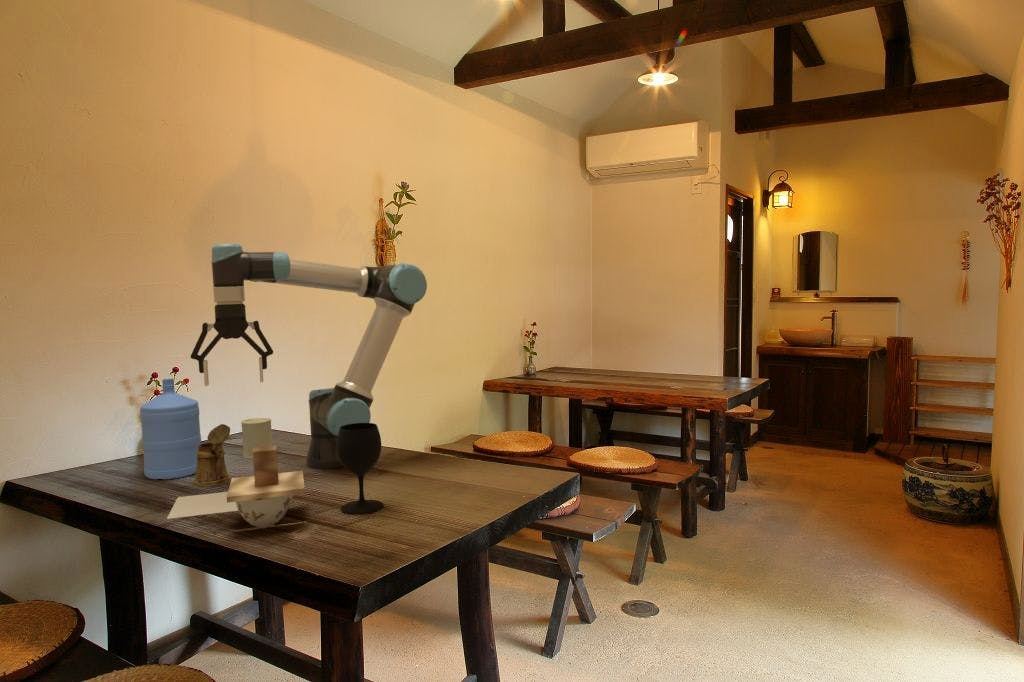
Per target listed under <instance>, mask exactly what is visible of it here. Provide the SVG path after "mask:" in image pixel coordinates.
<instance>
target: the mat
mask: <svg viewBox="0 0 1024 682" xmlns="http://www.w3.org/2000/svg"><path fill="white" fill-rule="evenodd" d="M227 494H228V491H224V492H223V491H222V492H213V493H206V494H204V493H203V494H196V495H185V496H179V497H177V499H176V500H175V502H174V504H173V506H172V508H171V510H170V512H169V514H168V515H167V518H166V519H167V520H169V519H178V518H187V517H194V516H197V517H198V516H203V515H204V516H205V515H213V514H220V513H229V512H237V511H238V512H239V510H238V508H237V505H236V502H228V503H227Z"/></svg>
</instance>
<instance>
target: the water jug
mask: <svg viewBox="0 0 1024 682" xmlns="http://www.w3.org/2000/svg"><path fill="white" fill-rule="evenodd" d="M161 381H162V393H161V394H159V395H158V396H156V397H154V398H152V399H151V400H149V401H146V402H145V403H144V404H141V405H140V412H139V417H140V422H141V435H142V440H141V443H142V444H141V446H142V452H143V463H144V468H143V473H144V476H145V477H146V478H148V479H149V480H157V479H163V480H174V478H175V479H181V478H184V477H185V476H186V477H189V475H190V476H193V475H196V474H195V473H196V466H197V456H196V455H197V450H198V445H200V444H202V434H201V425H200V406H199V402H198V400H197V399H194V398H191V397H189V396H185V395H183V394H180V393H177V392H176V391H175V383H174V381H175V379H174V378H165V379H162V380H161ZM192 474H193V475H192ZM186 477H185V478H186Z"/></svg>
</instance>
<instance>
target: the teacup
mask: <svg viewBox="0 0 1024 682" xmlns="http://www.w3.org/2000/svg"><path fill="white" fill-rule="evenodd" d="M294 496H295V495H288V496H280V497H271V498H262V499H254V500H245V501H236V505H237V508H238V510H239V511H238V512H239V514H240V515H241V516H242V518H243V519H244V520H245V522H247V523H248V524H249V525H251V526H254V527H257V528H258V529H261V528H263V529H265V528H269V527H273V526H276V524H277V523H278V522H279V521H280V520H281V519H282V518H283V517H284V516H285V515H286V513H287V511H288V510H289V508H290V506H291V502H292V501H293V498H294Z"/></svg>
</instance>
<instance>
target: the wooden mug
mask: <svg viewBox="0 0 1024 682" xmlns="http://www.w3.org/2000/svg"><path fill="white" fill-rule="evenodd" d="M230 433H231V428H230V426H229V425H228V424H227V425H226V424H224V423H223V424H222V423H221V424H219V425H218V426H216V427H214V428H213V429H211V430H210V432H209V433H208V435H207V441H208V442H205V443H201V444H200V445H198V450H197V455H196V456H197V466H196V474H195V476H194V477H195V479H194V481H193V485H194V486H195V487H199V488H200V487H201V488H209V487H210V488H211V487H216V486H222V485H225V484H226V483H229V482H230V476H229V474H228V471H227V470H228V469H227V466H226V460H225V454H226V452H225V450H224V448H223V445H224V444H223V443H224V442H225V441H226V440H227V439H228V438H229V437H230Z"/></svg>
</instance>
